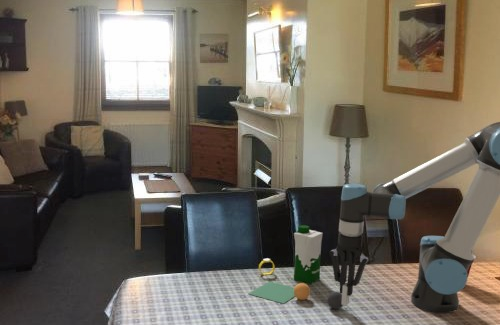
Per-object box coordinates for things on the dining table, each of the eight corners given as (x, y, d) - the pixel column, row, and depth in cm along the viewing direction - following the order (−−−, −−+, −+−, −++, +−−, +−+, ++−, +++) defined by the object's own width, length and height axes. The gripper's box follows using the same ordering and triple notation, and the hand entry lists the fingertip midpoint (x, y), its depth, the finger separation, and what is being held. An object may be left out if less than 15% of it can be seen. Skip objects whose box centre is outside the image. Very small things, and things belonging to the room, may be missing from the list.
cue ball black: (349, 304, 184) (344, 288, 184) (342, 310, 179) (337, 294, 179) (334, 306, 187) (329, 290, 187) (327, 312, 182) (322, 295, 182)
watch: (260, 277, 211) (259, 261, 210) (258, 274, 213) (257, 259, 212) (275, 274, 212) (275, 259, 211) (273, 272, 215) (272, 257, 214)
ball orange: (312, 298, 191) (313, 283, 190) (305, 303, 187) (305, 288, 186) (298, 294, 194) (298, 279, 193) (290, 299, 190) (291, 284, 189)
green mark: (303, 290, 198) (303, 290, 198) (283, 303, 186) (283, 303, 186) (269, 281, 205) (269, 281, 205) (248, 294, 194) (248, 293, 194)
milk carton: (302, 273, 214) (304, 222, 211) (323, 279, 209) (325, 227, 206) (290, 280, 207) (291, 227, 204) (311, 286, 202) (313, 232, 199)
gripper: (374, 234, 177) (368, 305, 181) (336, 226, 183) (331, 295, 187) (366, 239, 170) (359, 313, 174) (326, 231, 177) (321, 302, 181)
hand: (345, 303), depth 181 cm, fingers closed
